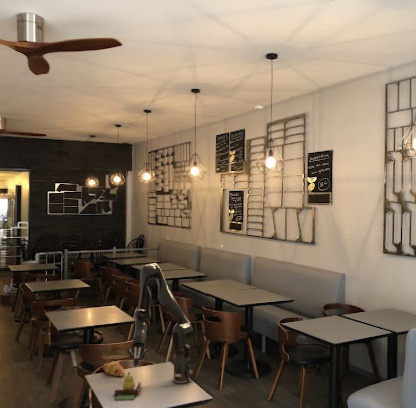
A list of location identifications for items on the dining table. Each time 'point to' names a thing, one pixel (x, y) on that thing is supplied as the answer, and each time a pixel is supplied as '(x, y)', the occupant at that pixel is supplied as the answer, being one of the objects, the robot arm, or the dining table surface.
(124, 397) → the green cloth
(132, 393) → the corner fence
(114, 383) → the dining table surface
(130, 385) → the pear
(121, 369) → the croissant
